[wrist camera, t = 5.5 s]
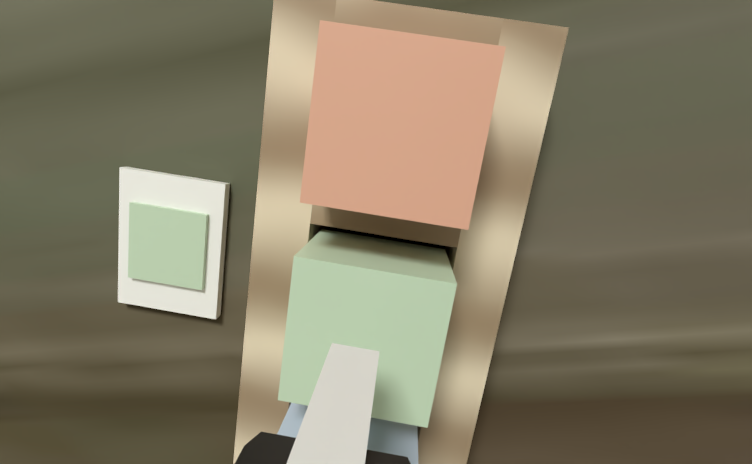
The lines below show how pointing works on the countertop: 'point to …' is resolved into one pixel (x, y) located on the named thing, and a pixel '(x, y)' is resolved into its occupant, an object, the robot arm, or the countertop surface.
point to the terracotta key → (398, 123)
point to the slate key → (381, 433)
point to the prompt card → (172, 241)
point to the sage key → (369, 318)
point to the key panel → (463, 247)
